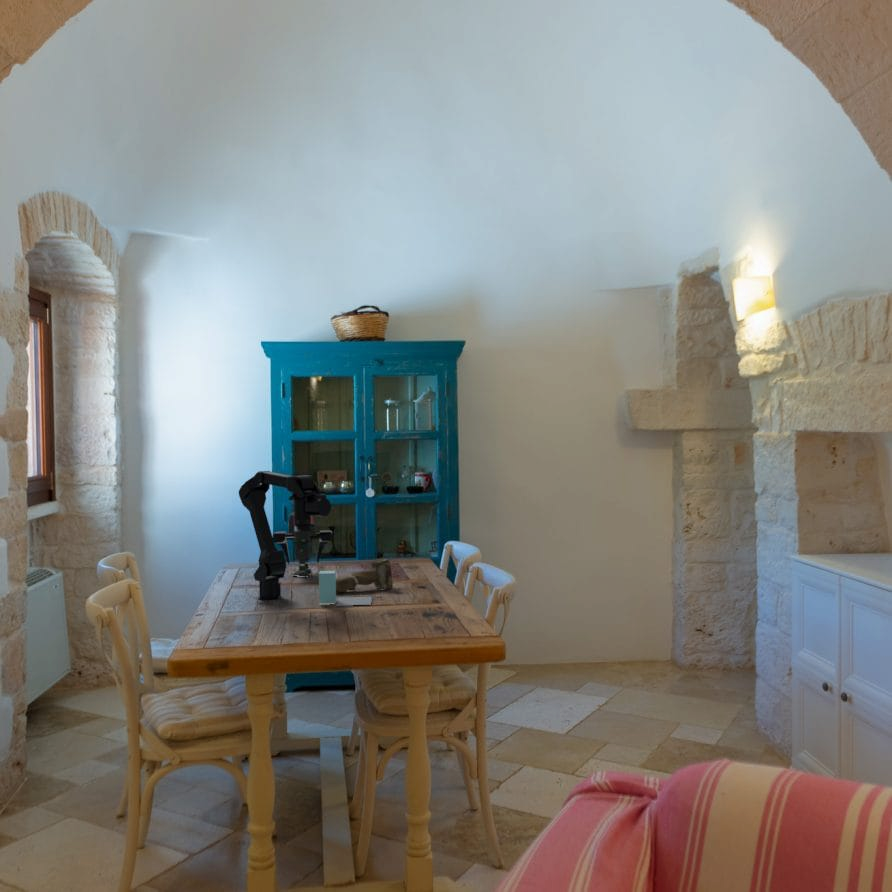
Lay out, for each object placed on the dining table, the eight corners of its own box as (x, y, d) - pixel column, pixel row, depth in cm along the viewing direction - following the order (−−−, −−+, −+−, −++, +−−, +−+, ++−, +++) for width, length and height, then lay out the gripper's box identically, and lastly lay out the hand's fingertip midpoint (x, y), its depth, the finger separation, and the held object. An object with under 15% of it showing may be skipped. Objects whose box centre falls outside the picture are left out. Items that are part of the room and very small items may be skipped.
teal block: (319, 605, 266) (318, 573, 266) (320, 601, 271) (319, 571, 271) (335, 604, 266) (334, 573, 266) (336, 601, 271) (335, 570, 271)
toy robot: (297, 570, 334) (296, 495, 333) (320, 570, 333) (319, 495, 333) (284, 580, 312) (283, 500, 311) (309, 580, 311) (307, 499, 311)
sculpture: (348, 618, 291) (323, 586, 287) (395, 576, 299) (371, 544, 295) (356, 622, 284) (330, 589, 280) (403, 579, 292) (379, 546, 288)
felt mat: (336, 606, 263) (336, 605, 263) (338, 599, 275) (338, 597, 275) (371, 605, 264) (371, 604, 264) (371, 598, 276) (371, 596, 276)
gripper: (271, 518, 259) (272, 568, 259) (332, 516, 262) (332, 566, 262) (273, 514, 270) (274, 562, 270) (331, 512, 273) (332, 560, 273)
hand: (303, 563), depth 269 cm, fingers open, 9 cm apart
